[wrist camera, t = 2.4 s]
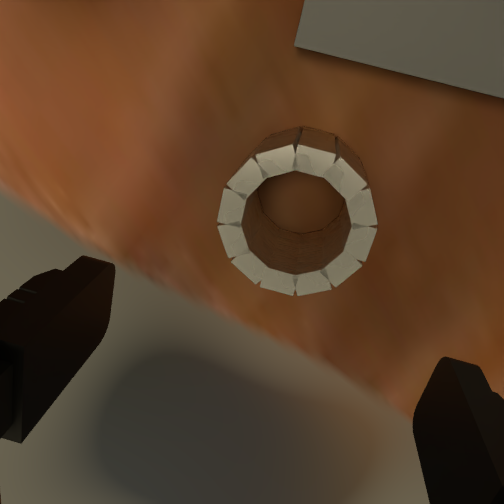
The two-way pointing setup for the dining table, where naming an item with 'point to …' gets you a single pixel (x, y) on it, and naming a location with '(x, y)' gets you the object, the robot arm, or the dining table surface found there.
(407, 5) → the piston block
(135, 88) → the dining table surface
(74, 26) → the dining table surface
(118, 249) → the dining table surface
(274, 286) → the ring
